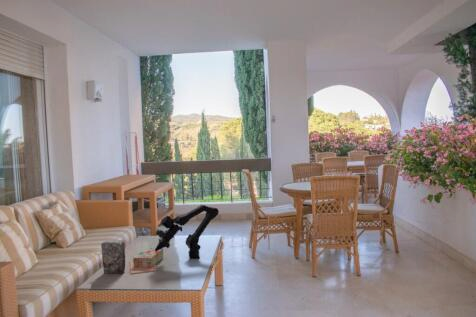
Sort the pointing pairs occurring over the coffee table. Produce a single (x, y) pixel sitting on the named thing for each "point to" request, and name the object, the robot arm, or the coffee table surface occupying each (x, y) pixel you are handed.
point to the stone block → (113, 256)
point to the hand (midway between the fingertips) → (155, 250)
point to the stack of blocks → (148, 258)
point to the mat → (141, 268)
